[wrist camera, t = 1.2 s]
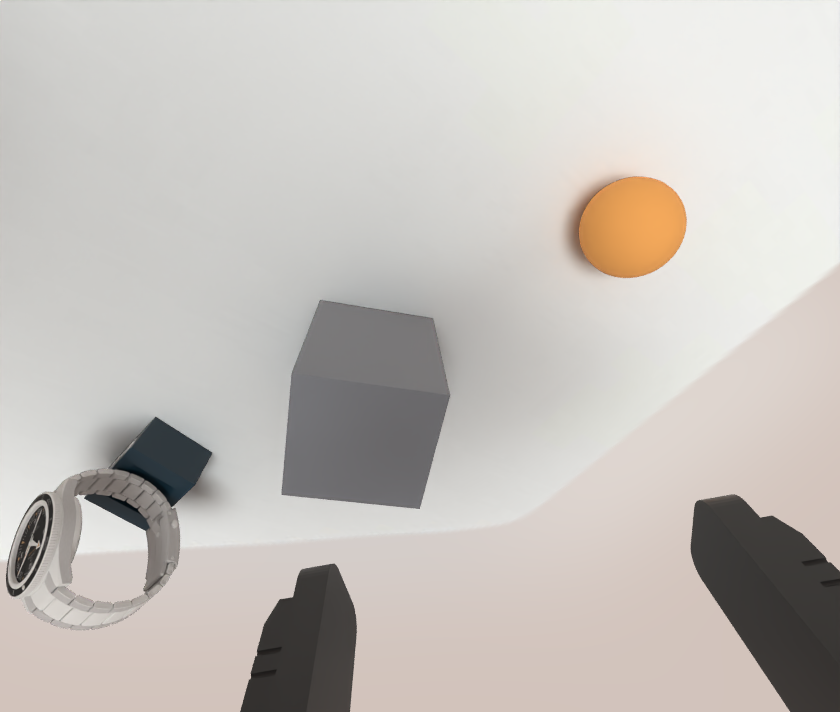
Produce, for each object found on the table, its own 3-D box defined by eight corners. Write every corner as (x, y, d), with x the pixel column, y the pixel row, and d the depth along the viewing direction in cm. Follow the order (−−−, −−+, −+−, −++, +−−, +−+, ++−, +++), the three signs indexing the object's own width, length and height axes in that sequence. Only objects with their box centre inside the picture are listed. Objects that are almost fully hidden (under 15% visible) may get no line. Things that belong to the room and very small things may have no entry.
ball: (553, 255, 26) (586, 281, 22) (583, 163, 24) (627, 172, 20) (632, 270, 27) (679, 298, 23) (668, 182, 25) (729, 194, 20)
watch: (127, 399, 29) (-5, 539, 19) (233, 466, 32) (165, 617, 22) (82, 450, 31) (-62, 604, 21) (187, 509, 34) (104, 668, 24)
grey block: (309, 397, 30) (281, 494, 22) (320, 300, 27) (291, 373, 19) (411, 410, 31) (419, 508, 23) (432, 318, 28) (450, 395, 20)
